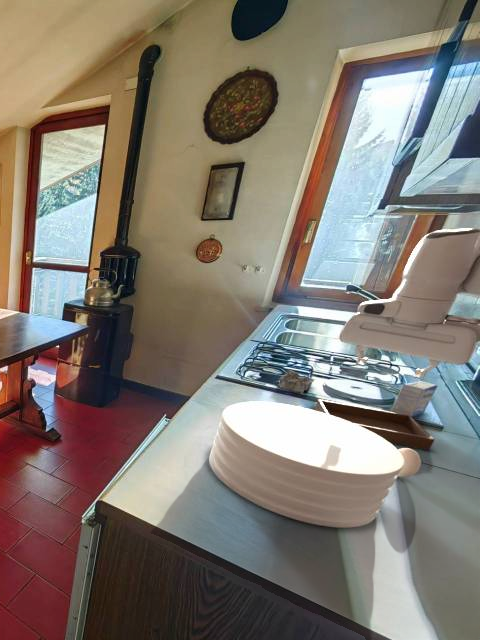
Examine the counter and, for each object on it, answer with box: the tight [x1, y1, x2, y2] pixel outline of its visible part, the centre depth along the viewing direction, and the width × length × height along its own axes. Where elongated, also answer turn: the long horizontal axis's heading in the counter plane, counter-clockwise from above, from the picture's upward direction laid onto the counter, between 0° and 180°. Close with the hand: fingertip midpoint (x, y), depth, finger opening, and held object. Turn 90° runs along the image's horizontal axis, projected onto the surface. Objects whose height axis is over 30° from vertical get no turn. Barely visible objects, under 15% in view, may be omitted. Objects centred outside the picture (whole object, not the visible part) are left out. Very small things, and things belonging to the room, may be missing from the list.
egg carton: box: [277, 369, 316, 393], centre depth 127 cm, size 11×8×4 cm
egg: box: [397, 447, 422, 478], centre depth 82 cm, size 5×5×7 cm
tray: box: [314, 398, 435, 451], centre depth 102 cm, size 19×14×3 cm
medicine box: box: [390, 380, 438, 418], centre depth 110 cm, size 8×4×9 cm, turn 114°
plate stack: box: [208, 401, 404, 529], centre depth 80 cm, size 28×28×12 cm
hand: (388, 371), depth 88 cm, fingers open, 8 cm apart
